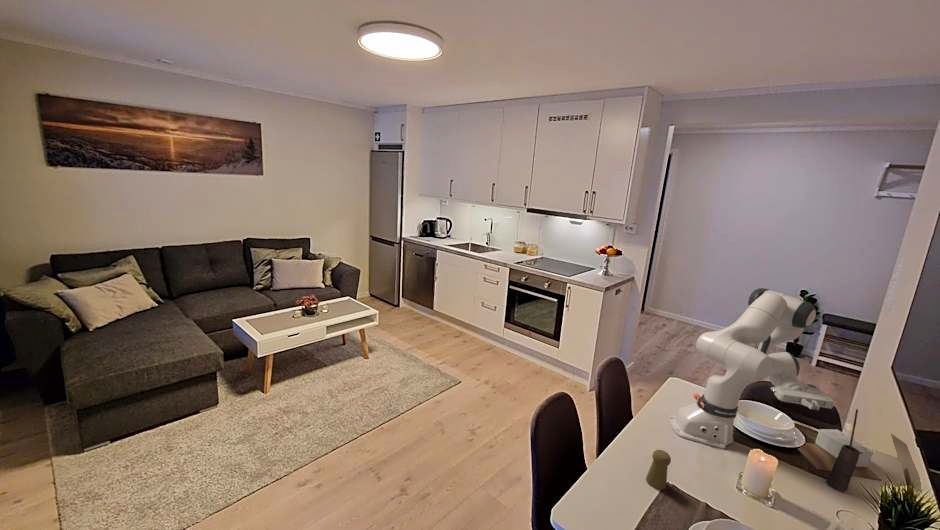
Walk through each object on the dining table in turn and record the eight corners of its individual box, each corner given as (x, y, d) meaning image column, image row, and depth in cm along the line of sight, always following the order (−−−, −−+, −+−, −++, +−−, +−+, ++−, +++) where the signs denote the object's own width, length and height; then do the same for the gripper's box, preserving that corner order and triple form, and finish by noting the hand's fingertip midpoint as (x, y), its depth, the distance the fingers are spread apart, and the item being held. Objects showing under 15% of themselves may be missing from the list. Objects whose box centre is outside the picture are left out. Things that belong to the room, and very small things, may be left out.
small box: (814, 442, 154) (848, 467, 142) (819, 428, 153) (853, 451, 140) (833, 443, 155) (868, 467, 143) (837, 429, 154) (874, 452, 141)
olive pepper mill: (667, 492, 124) (674, 462, 121) (646, 485, 126) (653, 456, 123) (665, 479, 130) (672, 450, 127) (645, 472, 131) (651, 444, 129)
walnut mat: (816, 469, 140) (817, 468, 140) (790, 441, 155) (790, 440, 155) (880, 480, 137) (881, 479, 137) (847, 450, 152) (847, 449, 152)
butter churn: (867, 498, 128) (896, 423, 122) (843, 500, 127) (871, 424, 120) (838, 477, 137) (863, 405, 130) (815, 478, 136) (839, 406, 129)
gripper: (770, 379, 175) (788, 396, 162) (822, 387, 172) (845, 405, 158) (766, 392, 176) (784, 410, 163) (817, 400, 173) (840, 419, 160)
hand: (815, 408), depth 161 cm, fingers closed
